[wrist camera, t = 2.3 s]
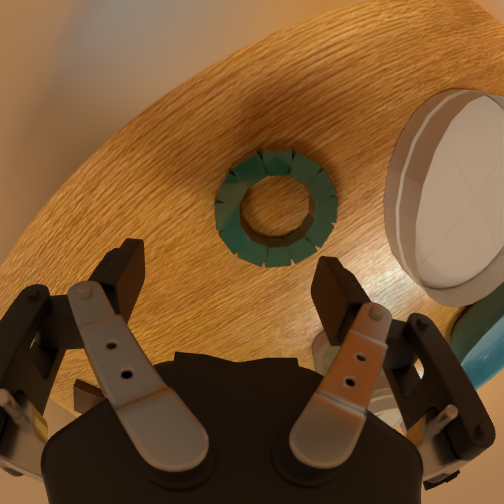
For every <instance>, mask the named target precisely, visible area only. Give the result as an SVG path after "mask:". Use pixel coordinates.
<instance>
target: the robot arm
mask: <svg viewBox="0 0 504 504" xmlns="http://www.w3.org/2000/svg"><path fill="white" fill-rule="evenodd" d="M144 279H145V258H144V242H143V240H142V239H131V238H126V240H125V241H124V242H123V244H122V245H121V247H120V248H114V249H112V250H111V251H109V252H108V253H106V255H105V256H104V258H103V259H102V261H101V262H100V263H99V266H97V267H96V269H95V270H94V272H93V273H92V275H91V276H90V278H89V279H88V281H82V282H78V283H76V284H74V285H73V286H72V287H71V288H70V289H69V290H68V294H67V295H56V296H50V293H49V290H48V288H47V287H46V286H44V285H41V284H35V285H31V286H28V287H26V288H25V289H23V290H22V291H21V292H20V294H19V295H18V296H17V298H16V299H15V300H14V302H13V303H12V305H11V306H10V307H9V309H8V310H7V312H6V313H5V315H4V316H3V318H2V319H1V321H0V468H2V469H3V470H5V471H6V472H8V473H9V474H11V475H13V476H22V475H27V476H29V477H31V478H34V479H37V480H38V481H41V482H44V484H45V487H46V492H47V496H48V501H49V504H421V484H422V482H423V481H425V480H426V481H427V482H430V483H437V482H440V481H441V480H443V479H445V478H446V477H448V476H449V475H451V474H453V473H454V472H456V471H457V470H459V469H460V468H461V467H463V466H464V465H466V464H467V463H469V462H470V461H471V460H473V459H474V458H476V457H477V456H478V455H480V454H481V453H482V452H483V451H485V450H486V449H487V448H489V447H490V446H491V445H492V444H493V442H494V440H495V436H496V435H495V428H494V425H493V423H492V421H491V419H490V417H489V415H488V413H487V411H486V409H485V407H484V405H483V403H482V401H481V400H480V398H479V396H478V394H477V392H476V390H475V388H474V387H473V385H472V383H471V381H470V380H469V378H468V376H467V374H466V373H465V371H464V369H463V368H462V366H461V364H460V363H459V361H458V359H457V358H456V356H455V354H454V353H453V351H452V350H451V348H450V347H449V345H448V343H447V342H446V340H445V339H444V337H443V336H442V334H441V333H440V331H439V330H438V328H437V327H436V325H435V324H434V322H433V321H432V320H431V319H430V318H428V317H427V316H425V315H423V314H419V313H412V314H411V315H410V316H409V318H408V319H407V321H406V322H404V321H399V320H395V319H392V315H391V313H390V312H389V310H388V309H386V308H385V307H384V306H382V305H380V304H377V303H373V302H371V300H370V299H369V297H368V296H367V294H366V293H365V291H364V289H363V288H361V287H362V286H361V285H360V283H359V282H358V280H357V279H356V277H355V276H354V274H352V273H351V272H350V271H349V270H347V269H346V268H344V267H343V266H342V264H341V263H340V261H339V260H338V258H336V257H326V256H321V257H320V258H319V261H318V264H317V268H316V271H315V275H314V278H313V282H312V285H311V297H312V300H313V302H314V305H315V307H316V310H317V312H318V315H319V317H320V320H321V322H322V325H323V327H324V330H325V333H326V335H327V338H328V340H329V343H330V346H341V347H340V349H339V351H338V353H337V355H336V357H335V358H334V360H333V362H332V364H331V366H330V367H329V369H328V371H327V373H326V375H325V376H323V375H321V374H319V373H317V372H315V371H313V370H310V369H307V368H303V367H299V364H298V360H297V358H263V359H258V360H252V361H246V362H232V361H228V360H224V359H220V358H217V357H213V356H209V355H206V354H194V353H183V352H175V356H174V361H167V362H162V363H158V364H155V365H152V364H151V362H150V361H149V359H148V358H147V356H146V355H145V353H144V351H143V350H142V348H141V347H140V345H139V344H138V342H137V340H136V339H135V337H134V335H133V334H132V332H131V330H130V329H129V327H128V325H127V324H128V321H129V318H130V316H131V313H132V311H133V308H134V306H135V303H136V301H137V298H138V296H139V293H140V291H141V288H142V286H143V283H144ZM33 339H35V341H34V343H33V345H32V347H31V349H30V346H31V343H32V341H33ZM82 348H84V350H85V353H86V355H87V358H88V360H89V362H90V365H91V367H92V370H93V372H94V374H95V376H96V379H97V381H98V383H99V385H100V388H101V390H102V392H103V394H104V396H105V398H104V399H103V400H102V401H100V402H99V403H98V404H96V405H95V406H93V407H92V408H91V409H89V410H88V411H86V412H85V413H84V414H82V415H81V416H79V417H78V418H77V419H75V420H74V421H72V422H71V423H69V424H68V425H67V426H65V427H64V428H62V429H61V430H59V431H58V432H56V433H55V434H54V435H53V436H52V437H51V438H50V439H49V440H48V426H47V423H46V421H45V419H44V418H43V417H42V416H43V413H44V410H45V407H46V403H47V401H48V398H49V395H50V392H51V389H52V386H53V383H54V380H55V378H56V375H57V372H58V370H59V367H60V364H61V362H62V359H63V357H64V354H65V352H66V350H67V349H82ZM418 358H419V359H420V361H421V363H422V365H423V368H424V374H423V377H422V379H420V377H419V374H418V372H417V370H416V368H415V366H414V364H415V362H416V361H417V360H418ZM382 368H383V370H384V373H385V375H386V378H387V380H388V383H389V385H390V388H391V390H392V393H393V395H394V398H395V400H396V403H397V405H398V408H399V411H400V413H401V416H402V419H403V422H404V424H405V427H406V430H407V433H406V437H405V436H403V435H402V434H400V433H399V432H398V431H396V430H395V429H393V428H392V427H391V426H389V425H388V424H387V423H385V422H384V421H382V420H381V419H380V418H378V417H377V416H376V415H374V414H373V413H372V412H370V411H369V410H368V406H369V403H370V401H371V398H372V395H373V392H374V390H375V387H376V384H377V381H378V378H379V375H380V372H381V369H382Z"/></svg>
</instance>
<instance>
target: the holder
mask: <svg viewBox="0 0 504 504" xmlns="http://www.w3.org/2000/svg"><path fill="white" fill-rule="evenodd" d="M104 398H105V396H104V394H103V392H102V390H100V389H98V388H95V387H93V386H91V385H88V384H86V383H84V382H81V381H79V380H77V379H76V381H75V384H74V411H77V412H79V413H81V414H84V413H85V412H86V411H88V410H89V409H91V408H92V407H93V406H95V405H96V404H98V403H99V402H100V401H102V400H103V399H104Z"/></svg>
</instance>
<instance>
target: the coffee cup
mask: <svg viewBox="0 0 504 504" xmlns="http://www.w3.org/2000/svg"><path fill="white" fill-rule="evenodd" d="M340 347H341V346H330V343H329V340H328V338H327V335H326V333H325V330H324V331H323V332H321V333H320V334H319V335H318V336H317V337H316V338H315V340H314V342H313V344H312V353H313V360H314V367H315V372H317V373H319V374H321V375H323V376H325V375H326V373H327V371H328V369H329V367H330V366H331V364H332V362H333V360H334V358H335V357H336V355H337V353H338V351H339V349H340ZM368 410H369V411H370V412H372V413H373V414H374V415H376V416H377V417H378V418H380V419H381V420H382V421H384V422H385V423H387V424H388V425H389V426H391V427H392V428H393V429H394V428H395V427H397V426H398V425H399V424H400V423H401V422H402V421H403V419H402V416H401V413H400V411H399V408H398V405H397V403H396V400H395V398H394V395H393V393H392V390H391V388H390V385H389V383H388V380H387V378H386V375H385V373H384V370H383V368H382V369H381V372H380V375H379V378H378V381H377V384H376V387H375V390H374V392H373V395H372V398H371V401H370V403H369V406H368Z"/></svg>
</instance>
